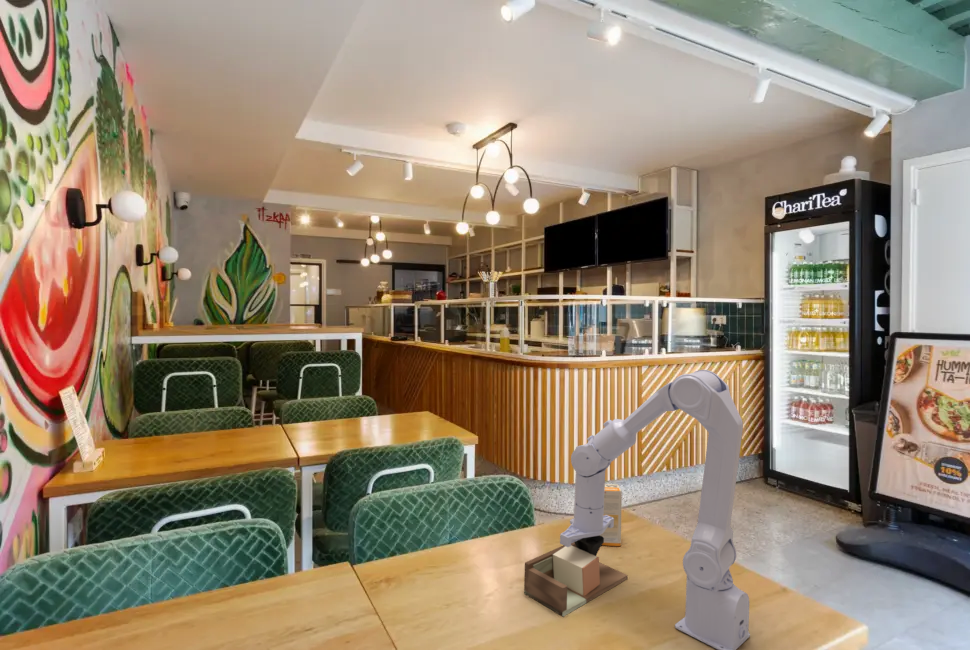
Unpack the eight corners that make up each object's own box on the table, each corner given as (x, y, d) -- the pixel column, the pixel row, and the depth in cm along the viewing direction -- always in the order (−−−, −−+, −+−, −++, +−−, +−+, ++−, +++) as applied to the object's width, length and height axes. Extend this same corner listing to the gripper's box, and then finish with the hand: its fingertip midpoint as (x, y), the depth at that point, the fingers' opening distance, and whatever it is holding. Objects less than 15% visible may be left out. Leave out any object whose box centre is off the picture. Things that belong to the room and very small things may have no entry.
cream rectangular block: (599, 584, 101) (598, 557, 100) (584, 596, 97) (583, 568, 97) (569, 569, 106) (568, 544, 105) (553, 580, 103) (552, 554, 102)
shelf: (627, 579, 105) (628, 549, 105) (563, 616, 92) (563, 583, 92) (588, 561, 113) (589, 533, 112) (524, 593, 99) (524, 562, 99)
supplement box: (617, 538, 124) (619, 483, 124) (620, 547, 119) (622, 490, 119) (582, 535, 125) (584, 481, 125) (584, 545, 120) (585, 488, 120)
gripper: (595, 489, 111) (592, 552, 111) (549, 505, 101) (546, 574, 102) (623, 500, 105) (620, 565, 106) (577, 518, 96) (574, 590, 96)
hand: (586, 570), depth 104 cm, fingers closed, pressing on cream rectangular block
